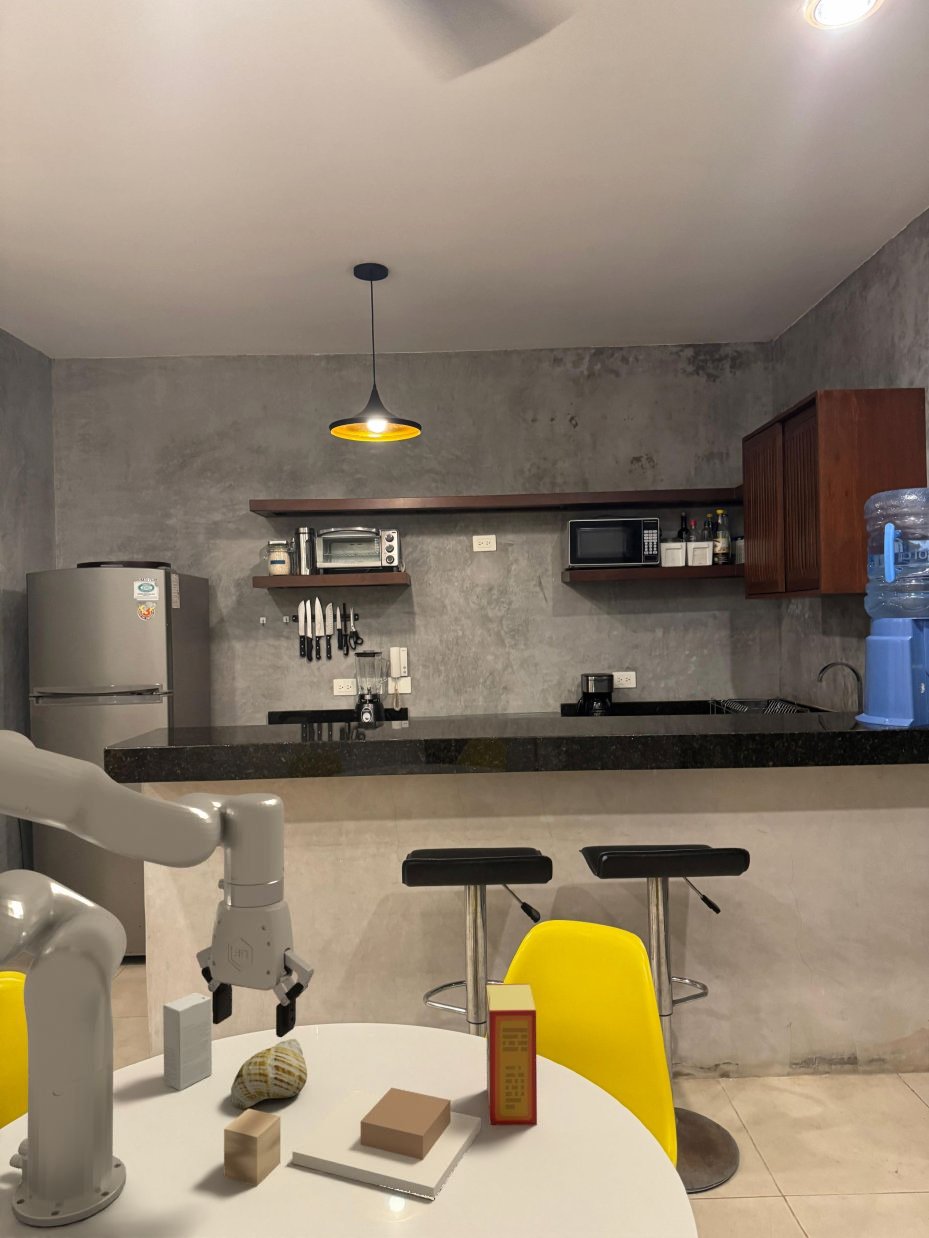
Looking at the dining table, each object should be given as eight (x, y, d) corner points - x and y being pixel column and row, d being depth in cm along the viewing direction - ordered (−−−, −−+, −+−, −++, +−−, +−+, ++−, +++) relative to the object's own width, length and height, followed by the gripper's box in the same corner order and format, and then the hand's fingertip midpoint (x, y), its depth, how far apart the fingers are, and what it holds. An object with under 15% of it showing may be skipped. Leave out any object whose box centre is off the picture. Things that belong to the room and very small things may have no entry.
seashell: (214, 1103, 122) (234, 1027, 126) (256, 1105, 129) (274, 1034, 134) (267, 1117, 117) (287, 1038, 121) (308, 1119, 124) (325, 1045, 129)
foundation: (292, 1163, 109) (292, 1127, 109) (353, 1100, 123) (353, 1069, 123) (433, 1200, 101) (433, 1162, 101) (481, 1129, 116) (480, 1095, 116)
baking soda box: (486, 1089, 126) (486, 981, 127) (530, 1088, 126) (529, 981, 127) (490, 1125, 117) (489, 1008, 117) (536, 1124, 117) (536, 1008, 117)
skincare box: (195, 1067, 133) (195, 990, 134) (212, 1075, 131) (212, 997, 131) (161, 1083, 128) (162, 1004, 129) (178, 1092, 126) (179, 1011, 126)
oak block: (223, 1177, 106) (224, 1128, 106) (248, 1154, 110) (248, 1108, 111) (257, 1186, 104) (257, 1137, 104) (280, 1163, 109) (280, 1116, 109)
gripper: (180, 892, 108) (179, 1027, 108) (295, 907, 102) (294, 1051, 101) (217, 877, 115) (217, 1004, 115) (327, 890, 109) (327, 1025, 108)
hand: (253, 1026), depth 108 cm, fingers open, 9 cm apart
